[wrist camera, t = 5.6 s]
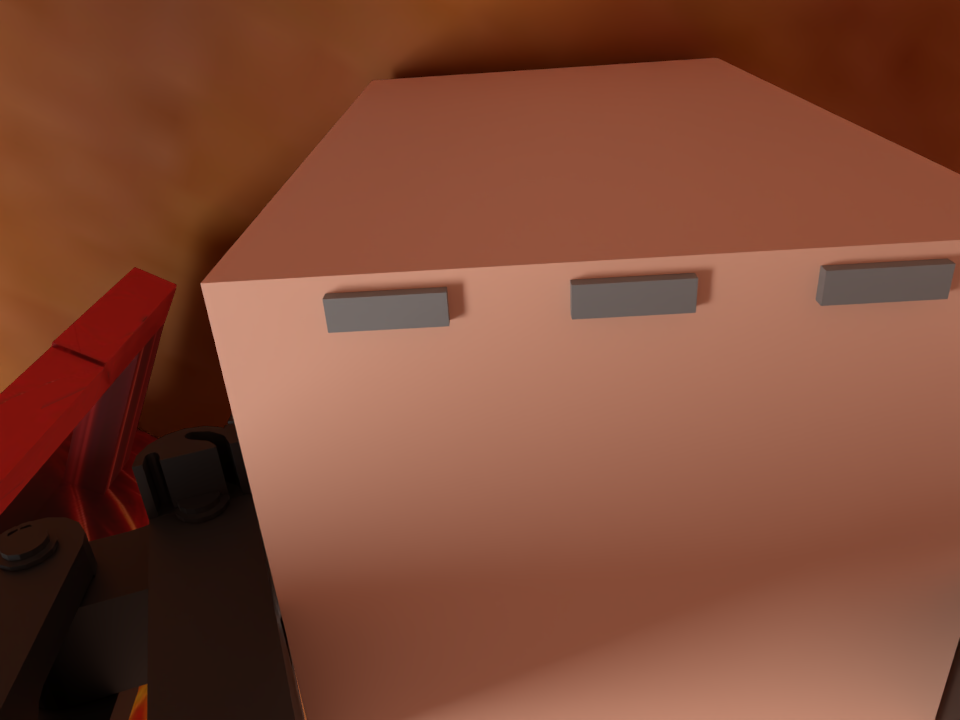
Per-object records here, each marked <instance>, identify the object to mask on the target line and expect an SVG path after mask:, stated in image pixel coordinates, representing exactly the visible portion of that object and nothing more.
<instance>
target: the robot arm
mask: <svg viewBox="0 0 960 720" xmlns="http://www.w3.org/2000/svg"><path fill="white" fill-rule="evenodd" d="M132 470H133V473H134V476H135V479H136V482H137V485H138V488H139V491H140V494H141V497H142V500H143V503H144V506H145V509H146V512H147V515H148V518H149V524H148V525H146V526H144V527H141V528H138V529H134V530H131V531H128V532H124V533H120V534H116V535H113V536H109V537H105V538H101V539H97V540H93V541H88V538H87V536H86V533H85V531H84V529H83V528H82V526H81V525H80V523H79V522H77V521H74V520H72V519H69V518H66V517H47V518H43V519H38V520H34V521H28V522H25V523H22V524H20V525H19V526H15V527H13V528H11V529H8V530H6V531H5V532H3V533H2V534H0V720H129V717H130V714H131V711H132V708H133V705H134V702H135V699H136V696H137V692H138V689H139V686H142V685H145V684H147V720H305V719H304V714H303V709H302V704H301V699H300V694H299V689H298V684H297V679H296V674H295V669H294V664H293V660H292V656H291V652H290V648H289V644H288V640H287V636H286V632H285V627H284V623H283V619H282V615H281V611H280V607H279V603H278V599H277V595H276V591H275V587H274V582H273V578H272V574H271V570H270V566H269V562H268V558H267V554H266V550H265V546H264V542H263V537H262V533H261V529H260V525H259V521H258V517H257V513H256V509H255V505H254V501H253V497H252V492H251V488H250V484H249V480H248V476H247V472H246V468H245V464H244V460H243V456H242V452H241V447H240V443H239V439H238V435H237V431H236V427H235V423H234V419H233V415H232V414H231V416H230V418H229V420H228V425H225V427H224V428H222V427H212V426H201V427H193V428H186V429H182V430H179V431H176V432H173V433H170V434H167V435H165V436H163V437H161V438H159V439H157V440H155V441H154V442H152V443H150V444H148V445H147V446H146V447H145V448H144V449H143V450H142V451H141V452H140V453H139V454H138V455H137V456H136V458H135V460H134V463H133V465H132ZM935 720H960V638H959V641H958V645H957V648H956V651H955V655H954V658H953V661H952V664H951V668H950V671H949V674H948V678H947V681H946V684H945V688H944V691H943V694H942V697H941V701H940V704H939V707H938V711H937V714H936V717H935Z"/></svg>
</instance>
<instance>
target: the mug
mask: <svg viewBox="0 0 960 720" xmlns="http://www.w3.org/2000/svg"><path fill="white" fill-rule="evenodd" d="M176 286H177V285H176V284H174V283H171V282H169V281H167V280H164V279H162V278H160V277H157V276H155V275H152V274H150V273H148V272H145V271H143V270H141V269H138V268H136V267H134V268H133V269H132V270H131V271H130V272H129V273H128V274H127V275H126V276H124V277H123V278H122V279H121V280H120V281H119V282H118V283H117V284H116V285H115V286H114V287H112V288H111V289H110V290H109V291H108V292H107V293H106V294H105V295H104V296H103V297H102V298H100V299H99V300H98V301H97V302H96V303H95V304H94V305H93V306H92V307H91V308H89V309H88V310H87V311H86V312H85V313H84V314H83V315H82V316H81V317H80V318H79V319H77V320H76V321H75V322H74V323H73V324H72V325H71V326H70V327H69V328H68V329H67V330H65V331H64V332H63V333H62V334H61V335H60V336H59V337H58V338H57V339H56V340H54V341H53V342H52V346H51V348H50V349H48V350H47V351H46V352H45V353H44V354H43V355H42V356H41V357H40V358H39V359H38V360H37V361H35V362H34V363H33V364H32V365H31V366H30V367H29V368H28V369H27V370H26V371H25V372H24V373H22V374H21V375H20V376H19V377H18V378H17V379H16V380H15V381H14V382H13V383H12V384H11V385H9V386H8V387H7V388H6V389H5V390H4V391H3V392H2V393H1V394H0V534H2V533H3V532H5V531H6V530H8V529H11V528H13V527H15V526H19V525H20V524H22V523H25V522H28V521H34V520H38V519H43V518H47V517H66V518H69V519H72V520H74V521H77V522H79V523H80V525H81V526H82V528H83V529H84V531H85V533H86V536H87V538H88V541H93V540H97V539H101V538H105V537H109V536H113V535H116V534H120V533H124V532H128V531H131V530H134V529H138V528H141V527H144V526H146V525H148V524H149V518H148V515H147V512H146V509H145V506H144V503H143V500H142V497H141V494H140V491H139V488H138V485H137V482H136V479H135V476H134V473H133V470H132V465H133V463H134V460H135V458H136V456H137V455H138V454H139V453H140V452H141V451H142V450H143V449H144V448H145V447H146V446H147V445H148V444H150V443H152V442H154V441H155V440H157V438H155V437H153V436H152V435H150V434H148V433H146V432H143V431H141V430H138V429H137V426H138V422H139V419H140V415H141V411H142V407H143V403H144V399H145V395H146V391H147V388H148V384H149V380H150V376H151V372H152V368H153V364H154V361H155V357H156V353H157V349H158V345H159V341H160V337H161V333H162V330H163V326H164V323H165V320H166V317H167V314H168V311H169V308H170V305H171V302H172V299H173V296H174V293H175V290H176ZM129 720H147V684H145V685H142V686H139V689H138V692H137V696H136V699H135V702H134V705H133V708H132V711H131V714H130V717H129Z"/></svg>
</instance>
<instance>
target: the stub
mask: <svg viewBox="0 0 960 720" xmlns="http://www.w3.org/2000/svg"><path fill="white" fill-rule="evenodd" d="M200 284H201V288H202V292H203V296H204V300H205V304H206V308H207V312H208V316H209V321H210V325H211V329H212V333H213V337H214V341H215V345H216V349H217V353H218V357H219V361H220V366H221V370H222V374H223V378H224V382H225V386H226V390H227V394H228V398H229V402H230V406H231V411H232V415H233V419H234V423H235V427H236V431H237V435H238V439H239V443H240V447H241V452H242V456H243V460H244V464H245V468H246V472H247V476H248V480H249V484H250V488H251V492H252V497H253V501H254V505H255V509H256V513H257V517H258V521H259V525H260V529H261V533H262V537H263V542H264V546H265V550H266V554H267V558H268V562H269V566H270V570H271V574H272V578H273V582H274V587H275V591H276V595H277V599H278V603H279V607H280V611H281V615H282V619H283V623H284V627H285V632H286V636H287V640H288V644H289V648H290V652H291V656H292V660H293V664H294V668H295V672H296V677H297V681H298V685H299V689H300V693H301V697H302V701H303V705H304V709H305V713H306V718H307V720H935V717H936V714H937V711H938V707H939V704H940V701H941V697H942V694H943V691H944V688H945V684H946V681H947V678H948V674H949V671H950V668H951V664H952V661H953V658H954V655H955V651H956V648H957V645H958V641H959V638H960V174H958V173H956V172H954V171H952V170H950V169H948V168H946V167H944V166H942V165H939V164H937V163H935V162H933V161H931V160H929V159H927V158H925V157H923V156H921V155H919V154H917V153H914V152H912V151H910V150H908V149H906V148H904V147H902V146H900V145H898V144H896V143H894V142H892V141H889V140H887V139H885V138H883V137H881V136H879V135H877V134H875V133H873V132H871V131H869V130H867V129H864V128H862V127H860V126H858V125H856V124H854V123H852V122H850V121H848V120H846V119H844V118H842V117H839V116H837V115H835V114H833V113H831V112H829V111H827V110H825V109H823V108H821V107H819V106H817V105H814V104H812V103H810V102H808V101H806V100H804V99H802V98H800V97H798V96H796V95H794V94H792V93H789V92H787V91H785V90H783V89H781V88H779V87H777V86H775V85H773V84H771V83H769V82H767V81H764V80H762V79H760V78H758V77H756V76H754V75H752V74H750V73H748V72H746V71H744V70H742V69H739V68H737V67H735V66H733V65H731V64H729V63H727V62H725V61H723V60H721V59H719V58H704V59H689V60H674V61H658V62H643V63H628V64H613V65H598V66H582V67H567V68H552V69H537V70H522V71H506V72H491V73H476V74H461V75H446V76H430V77H415V78H400V79H385V80H372V81H371V82H370V84H369V85H368V86H367V87H366V88H365V89H364V91H363V92H362V93H361V94H360V95H359V97H358V98H357V99H356V100H355V101H354V102H353V104H352V105H351V106H350V107H349V108H348V110H347V111H346V112H345V113H344V114H343V115H342V117H341V118H340V119H339V120H338V121H337V123H336V124H335V125H334V126H333V127H332V128H331V130H330V131H329V132H328V133H327V134H326V136H325V137H324V138H323V139H322V140H321V141H320V143H319V144H318V145H317V146H316V147H315V149H314V150H313V151H312V152H311V153H310V154H309V156H308V157H307V158H306V159H305V160H304V162H303V163H302V164H301V165H300V166H299V167H298V169H297V170H296V171H295V172H294V173H293V175H292V176H291V177H290V178H289V179H288V180H287V182H286V183H285V184H284V185H283V186H282V188H281V189H280V190H279V191H278V192H277V193H276V195H275V196H274V197H273V198H272V199H271V201H270V202H269V203H268V204H267V205H266V206H265V208H264V209H263V210H262V211H261V212H260V214H259V215H258V216H257V217H256V218H255V219H254V221H253V222H252V223H251V224H250V225H249V227H248V228H247V229H246V230H245V231H244V232H243V234H242V235H241V236H240V237H239V238H238V240H237V241H236V242H235V243H234V244H233V245H232V247H231V248H230V249H229V250H228V251H227V253H226V254H225V255H224V256H223V257H222V258H221V260H220V261H219V262H218V263H217V264H216V266H215V267H214V268H213V269H212V270H211V272H210V273H209V274H208V275H207V276H206V277H205V279H204V280H203V281H202V282H201V283H200Z"/></svg>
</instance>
